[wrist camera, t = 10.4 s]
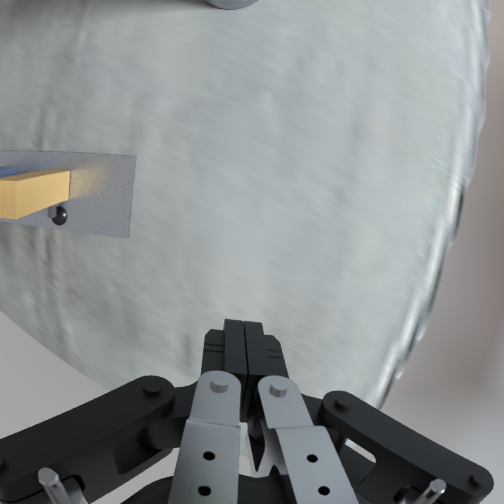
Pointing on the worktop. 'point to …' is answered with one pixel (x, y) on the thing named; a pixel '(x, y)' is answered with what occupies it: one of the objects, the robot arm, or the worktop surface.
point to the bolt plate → (82, 190)
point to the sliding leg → (33, 193)
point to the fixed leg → (6, 172)
